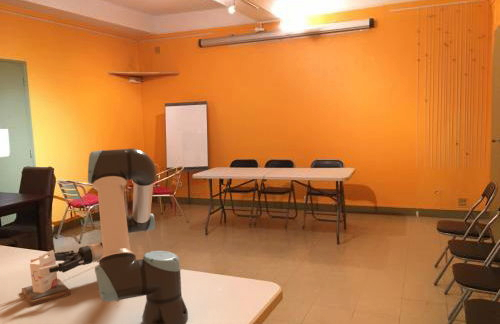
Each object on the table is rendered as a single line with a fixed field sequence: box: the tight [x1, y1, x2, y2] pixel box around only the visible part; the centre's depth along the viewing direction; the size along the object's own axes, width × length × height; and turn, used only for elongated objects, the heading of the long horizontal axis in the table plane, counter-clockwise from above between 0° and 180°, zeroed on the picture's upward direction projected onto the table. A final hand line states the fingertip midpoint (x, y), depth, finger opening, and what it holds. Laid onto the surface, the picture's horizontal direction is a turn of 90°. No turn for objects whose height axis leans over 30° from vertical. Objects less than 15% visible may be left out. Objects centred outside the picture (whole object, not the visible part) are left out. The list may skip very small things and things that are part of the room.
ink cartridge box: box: [29, 249, 58, 293], centre depth 164 cm, size 9×5×15 cm, turn 166°
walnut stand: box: [21, 278, 71, 307], centre depth 165 cm, size 16×14×2 cm
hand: (34, 267), depth 162 cm, fingers open, 13 cm apart
